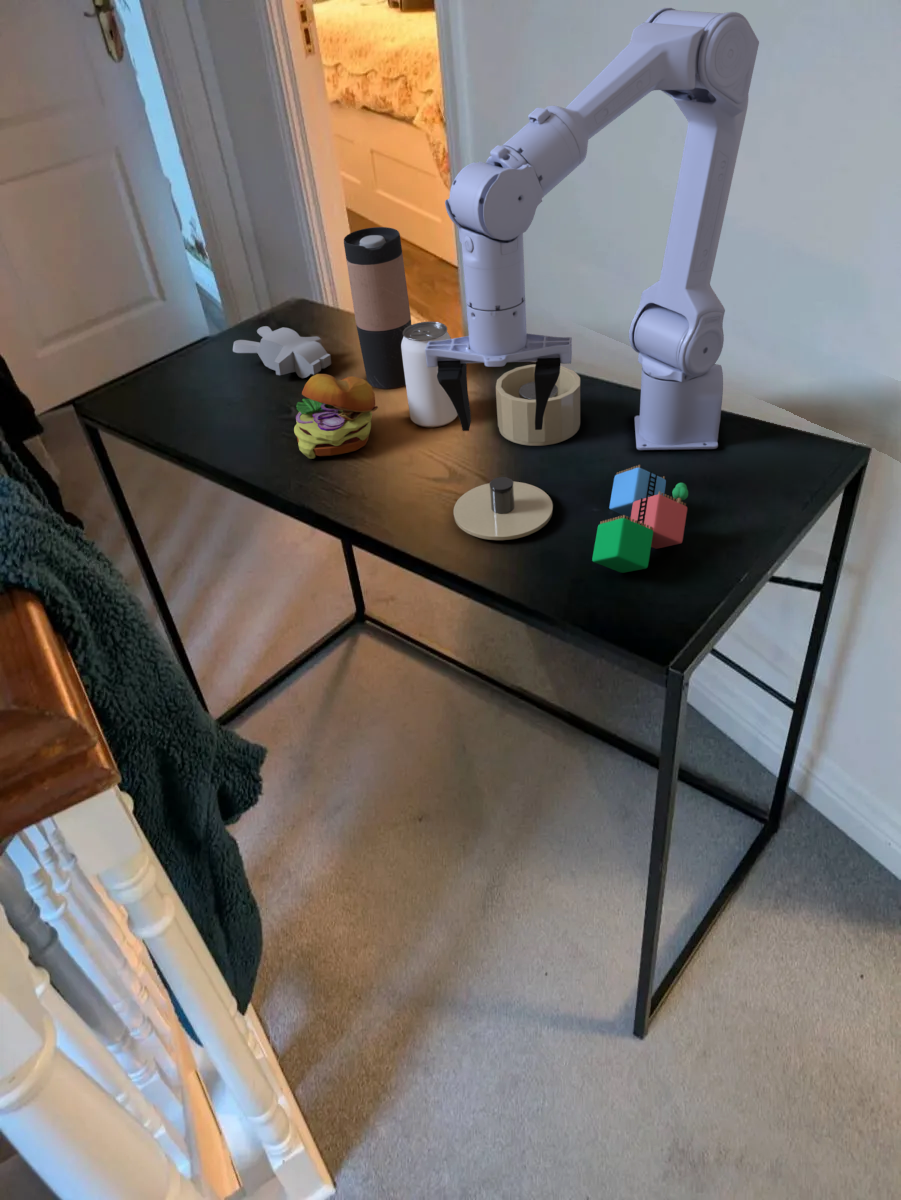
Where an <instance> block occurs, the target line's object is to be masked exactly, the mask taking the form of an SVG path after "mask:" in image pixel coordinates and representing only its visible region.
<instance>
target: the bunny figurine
mask: <svg viewBox="0 0 901 1200" xmlns="http://www.w3.org/2000/svg"><path fill="white" fill-rule="evenodd" d="M256 332H257V333H256V334H258V335H259V336H260V337H261V339H260V342H259V341H253V340H248V339H238V340H235V341H233V343H232V344H233V345H232V352H233V353H236V354H258V356H259V358H260V360H261V362H262V363H263V365H264V366H265V367H266V368H268V369H270V370H273V371H275V375H276V376H282V375H287V374H291V373H296V375H297V376H298V377H299V378H301V379H305V378H309V376H314V375H316V374H319V373H320V372H321V371H322V369H326V368H327V367H329V366H331V365H332V356H331V354H330V353H328V352H327V351H326V349H325V347H324V346H323V344H322V338H320V337H319V336H318V335H317V336H316V335H315V336H301V335H299V333H298V332H297V331H295V330H294V329H293V328H289V327H279V328H278V329H275V330H272V329H271V327H270V326H267V325H265V326H261V327H258V329H257V330H256Z"/></svg>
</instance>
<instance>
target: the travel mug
mask: <svg viewBox="0 0 901 1200" xmlns="http://www.w3.org/2000/svg"><path fill="white" fill-rule="evenodd" d="M343 247H344V253H345V259H346V267H347V274H348V280H349V288H350V293H351V299H352V300H351V301H352V307H353V312H354V313H353V314H354V319H355V320H354V321H355V325H356V331H357V336H358V341H359V346H360V352H361V356H362V361H363V362H362V363H363V366H364V372H365V376H366V377H365V378H366V381H367V382H368V383H369V384H370V385H371V386H372V388H373V387H374V388H376V389H380V390H381V389H383V390H388V389H389V390H390V389H397V388H401V387H404V386H406V382H405V374H404V367H403V359H402V350H401V343H402V339H403V337H404V336H403V331H404V329H405V328H407V327H408V326H410V325H412V315H411V309H410V300H409V293H408V286H407V279H406V278H407V277H406V269H405V264H404V263H405V262H404V254H403V248H402V240H401V234H400V231H399V230H398V229H396V228H393V227H387V226H376V227H375V226H373V227H366V228H361V229H358V230H354V231H352V232H350V233H349V234H347V235H346V236H345V237H344V238H343Z"/></svg>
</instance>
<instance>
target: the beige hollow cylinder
mask: <svg viewBox="0 0 901 1200" xmlns="http://www.w3.org/2000/svg"><path fill="white" fill-rule="evenodd" d="M535 366H536V363H535V364H534V363H533V364H527V365H522V366H517V367H514V368H513V369H510V370H508V371H506V372H504V373H503V374H501V376H499V377H498V378H497V379H496V383H495V398H496V399H495V400H496V401H495V402H496V415H497V416H496V417H497V428H498V431H499V434H501V436H502V437H503V438H504V439H506V440H508V441H510V442H512V443H515V444H518V445H522V446H530V447H541V446H550V445H555V444H558V443H561V442H564V441H566V440H569V439H570V438H572V437H573V436H575V435H576V434H577V433H578V431H579V430H580V427H581V377H580V375H579V374H578V373H577V372H576V371H575V370H573V369H570V368H568V367H566V366H563V365H560V374H559V377H558V380H557V382H556V384H555V385H556V386H557V387H558V396H557V397H552V398H549V399H548V402H547V405H546V408H545V411H544V416H543V425H542V430H535V412H536V400H528V399H522V398H519V389H520V387H521V386H523V385H524V384H527V383H530V382H534V381H535V379H534V373H535Z"/></svg>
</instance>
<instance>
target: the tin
mask: <svg viewBox="0 0 901 1200" xmlns="http://www.w3.org/2000/svg"><path fill="white" fill-rule="evenodd" d="M557 396H558V387H557V386H556V385H555V386H554V388H553V390H552V392H551V394H550V396H549V398H552V397H557ZM519 398H522V399H528V400H536V394H535V381H534V382H530V383H527V384H524V385H523V386H521V387H520V389H519Z"/></svg>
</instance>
